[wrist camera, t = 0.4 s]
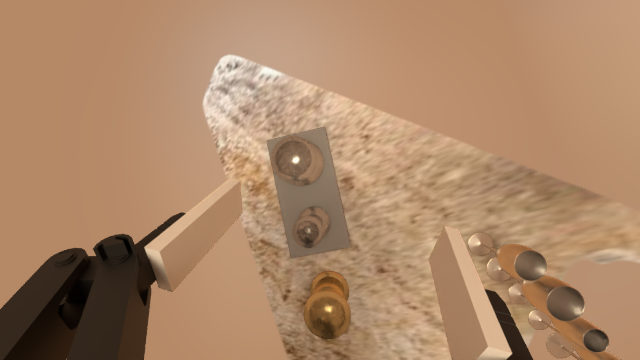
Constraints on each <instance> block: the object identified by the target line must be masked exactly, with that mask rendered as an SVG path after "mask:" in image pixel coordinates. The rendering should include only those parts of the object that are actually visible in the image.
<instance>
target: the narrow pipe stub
mask: <svg viewBox="0 0 640 360" xmlns="http://www.w3.org/2000/svg"><path fill="white" fill-rule="evenodd" d="M330 224H331V222H330V217H329V215H328V213H327V212H326V211H325V210H324V209H322V208H320V207H316V206H312V207H308V208H306V209H305V210H303V211H302V212H301V214H300V215H299V217H298V220H297V221H296V222H295V224H294V225H293V228H292V235H293V238H294V240H295V242H296V243H297V244H298V245H300V246H301V247H304V248H312V247H315V246H317V245H318V244H319V243H320V242H321V240H322V238H323V237H324V236H325V235H326V234H327V233H328V231H329V229H330Z"/></svg>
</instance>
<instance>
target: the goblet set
mask: <svg viewBox="0 0 640 360" xmlns="http://www.w3.org/2000/svg"><path fill="white" fill-rule="evenodd" d="M468 246H469V249H470V251H471V252H472V253H474V254H475V255H479V256H483V255H486V254H488V253H489V252H490V251H491V250H492V251H493V252H495V253H496V256H497V257H494V258H492V259H491V260H490V261H489V262H488V264H487V273H488V275H489V276H490V277H491V278H492V279H494V280H496V281H505V280H507V279H508V278H510V277H511V276H512V277H513V278H515V279H516V280H518V281H519V282H520V283H517V284H514V285H512V286H511V287H510V289H509V292H508V295H509V298H510V299H511V301H512V302H514V303H516V304H525V303H527V302H528V301H529V302H530V303H531V304H532V305H533V306H535V307H536V308H537V309H535V310H533V311H532V312H531V313H530V314H529V318H528V320H529V323H530V325H531V326H532V327H533V328H535V329H538V330H544V329H546V328H548V327H550V328H551V329H553V330H554V331H556V332H557V333H553V334H552V335H550V336H549V337H548V339H547V342H546V346H547V349H548V351H549V353H550V354H551V355H553V356H554V357H557V358H566V357H568V356H570V355H572V356H574V357H575V358H576V359H578V360H621V359H619V358H618V357H617V356H615V355H613V354H612V353H610V352H608V351H607V350H606V349H607V347H608V345H609V338H608V336H607V335H606V333H605V332H604V331H602V330H601V329H600V328H598V327H597V326H596V325H594V324H593V323H591V322H590V321H588V320H586V319H584V318H583V317H581V316H580V315H582V313H583V311H584V308H585V302H584V299H583V296H582V295H581V294H580V292H579V291H577V290H576V289H575V288H573V287H572V286H570V285H568V284H566V283H565V282H563V281H561V280H559V279H556V278H553V277H550V276H545V275H544V274H545V272H546V270H547V263H546V260H545V258H544V257H543V256H542V255H541V254H540V253H538V252H537V251H535V250H533V249H531V248H529V247H526V246H523V245H518V244H508V245H504V246H502V247H500V248H499V249H495V248H492V246H493V243H492V240H491V238H490V237H489V236H488V235H487V234H485V233H481V232H479V233H475V234H473V235H472V236H471V237H470V238H469V241H468ZM551 322H552V323H553V325H554V326H555V327H556V328H557V329H555V328H553V327H552V326H550V323H551ZM574 349H575V351H576V352H577V354H578V355H579V356H580V358H581V359H580V358H579V357H577V356H576V355H574V354H573V353H572V352H573V350H574Z"/></svg>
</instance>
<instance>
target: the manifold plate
mask: <svg viewBox="0 0 640 360" xmlns="http://www.w3.org/2000/svg"><path fill="white" fill-rule="evenodd" d="M288 136H300V137H303V138H305V139H306V140H308V141H310V142H312V143H314V144H315V145H316V146H317V147H318V148H319V149H320V150H321V152H322V154H323V157H324V169H323V172H322V174H321V176H320V177H319V178H318V179H317V180H316V181H315V182H313V183H311V184H309V185H305V186H297V185H293V184H291V183H289V182H288V181H285V180H283V179H281V178H280V177H279V176H278V175H277V174H276V173H275V172H274V170H273V174H274V179H275V184H276V188H277V193H278V198H279V203H280V208H281V213H282V217H283V222H284V227H285V232H286V237H287V241H288V246H289V251H290V256H291V259H292V258H297V257H302V256H307V255H313V254H318V253H323V252H328V251H333V250H339V249H344V248H349V247H351V245H350V240H349V235H348V231H347V226H346V222H345V217H344V212H343V208H342V203H341V199H340V194H339V189H338V185H337V180H336V176H335V171H334V166H333V162H332V157H331V153H330V148H329V143H328V139H327V134H326V130H325V127H322V128H317V129H313V130H309V131H305V132H300V133H296V134H292V135H288ZM288 136H284V137H279V138H275V139H271V140H267V145H268V150H269V155H270V160H271V153H272V150H273V148H274V146H275V145H276V144H277V143H278V142H279V141H280V140H281V139H283V138H285V137H288ZM272 169H273V168H272ZM312 206H316V207H320V208H322V209H324V210H325V211H326V212H327V213H328V215H329V217H330V222H331V224H330V229H329V231H328V233H327V234H326V235H325V236H324V237H323V238H322V240H321V242H320V243H319V244H318V245H317V246H315V247H312V248H304V247H301V246H300V245H298V244H297V243H296V242H295V240H294V238H293V235H292V228H293V225H294V224H295V222H296V221H297V220H298V217H299V215H300V214H301V212H302V211H303V210H305V209H306V208H308V207H312Z"/></svg>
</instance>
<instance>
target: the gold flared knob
mask: <svg viewBox="0 0 640 360" xmlns="http://www.w3.org/2000/svg"><path fill="white" fill-rule="evenodd" d="M310 293H311V296H310V297H309V299H308V300H307V302H306V305H305V309H304V320H305V323H306V325H307V327H308V328H309V330H310V331H311V332H312V333H313V334H315V335H316V336H318V337H321V338H325V339H332V338H336V337H338V336H340V335H342V334H343V333H344V332H345V331H346V329H347V328H348V326H349V323H350V318H351V315H350V307H349V304H348V302H347V300H348V297H349V288H348V284H347V282H346V280H345V279H344V278H343V276H341V275H340V274H338V273H336V272H333V271H325V272H322V273H320V274H318V275H317V276H316V277H315V278H314V280H313V282H312V285H311V289H310Z"/></svg>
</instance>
